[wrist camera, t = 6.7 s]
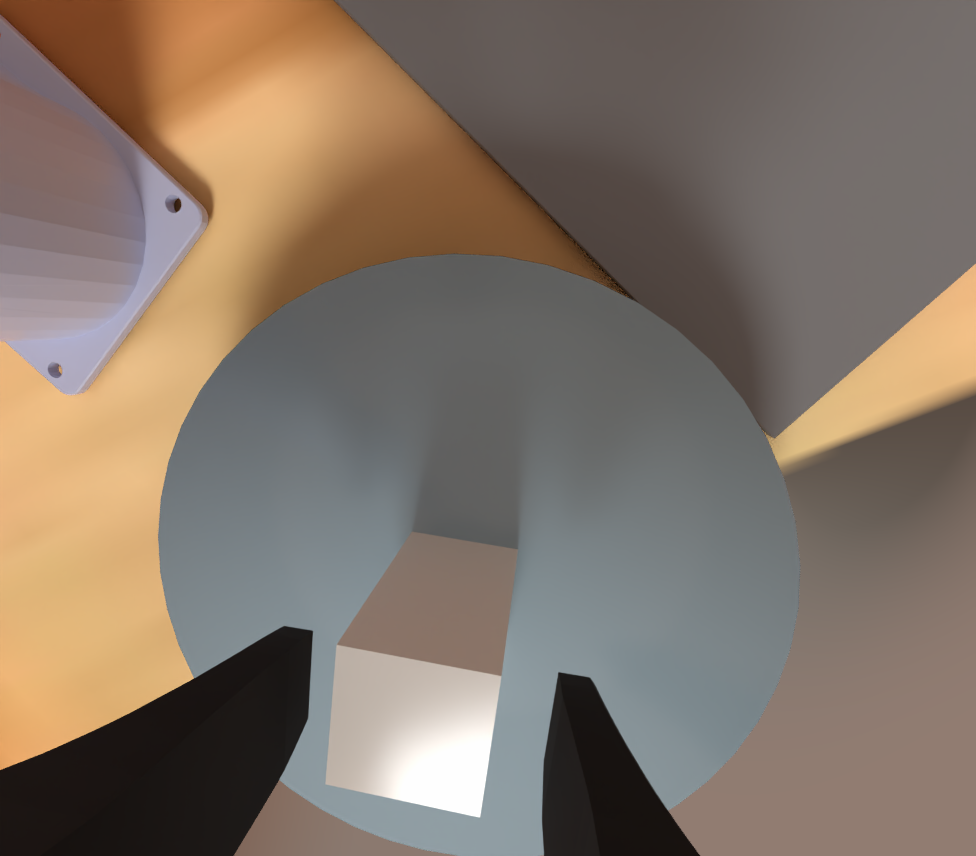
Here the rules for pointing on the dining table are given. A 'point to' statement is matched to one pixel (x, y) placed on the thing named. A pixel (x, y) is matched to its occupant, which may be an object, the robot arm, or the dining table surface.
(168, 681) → the dining table surface
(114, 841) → the robot arm
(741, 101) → the mat
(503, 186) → the dining table surface
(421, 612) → the lid
